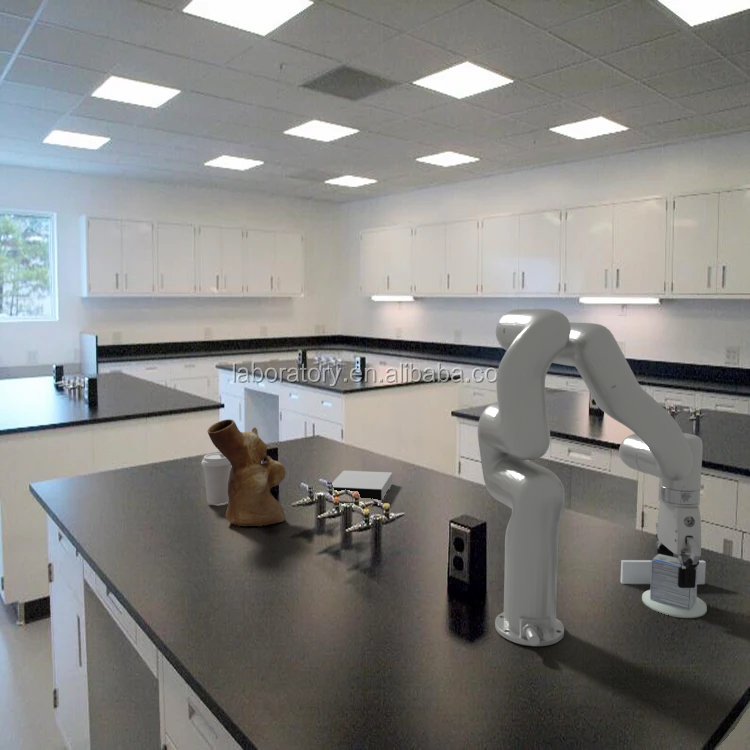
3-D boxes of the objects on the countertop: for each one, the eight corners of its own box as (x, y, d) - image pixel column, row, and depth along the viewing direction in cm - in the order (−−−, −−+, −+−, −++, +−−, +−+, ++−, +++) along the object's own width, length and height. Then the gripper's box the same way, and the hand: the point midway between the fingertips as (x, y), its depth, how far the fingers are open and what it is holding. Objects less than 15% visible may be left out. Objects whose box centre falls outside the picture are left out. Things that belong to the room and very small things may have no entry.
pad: (718, 618, 124) (718, 615, 124) (656, 617, 124) (656, 615, 124) (689, 591, 136) (689, 588, 136) (632, 590, 136) (633, 588, 136)
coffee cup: (229, 508, 194) (228, 459, 192) (198, 507, 194) (197, 459, 192) (237, 498, 203) (236, 452, 202) (207, 498, 203) (205, 452, 202)
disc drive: (326, 502, 201) (326, 487, 200) (343, 483, 223) (343, 469, 222) (381, 505, 197) (381, 490, 197) (392, 486, 219) (392, 471, 219)
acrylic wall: (704, 584, 140) (705, 562, 139) (622, 583, 140) (622, 561, 139) (702, 582, 141) (703, 560, 140) (620, 581, 141) (621, 560, 140)
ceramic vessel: (294, 523, 180) (293, 418, 177) (220, 538, 168) (217, 426, 165) (270, 508, 193) (269, 410, 190) (200, 522, 181) (197, 418, 178)
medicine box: (696, 603, 129) (698, 562, 128) (690, 611, 126) (693, 569, 125) (656, 592, 134) (657, 552, 133) (649, 599, 131) (651, 559, 130)
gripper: (720, 508, 119) (715, 596, 121) (678, 483, 136) (674, 560, 138) (680, 508, 119) (675, 595, 121) (642, 483, 137) (639, 560, 138)
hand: (674, 576), depth 130 cm, fingers open, 9 cm apart
